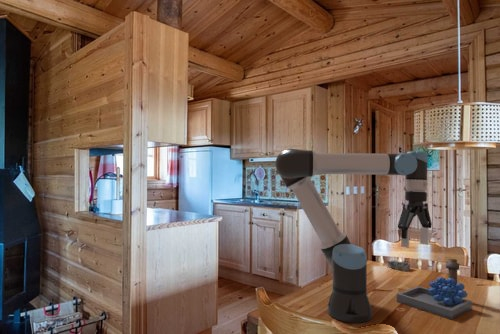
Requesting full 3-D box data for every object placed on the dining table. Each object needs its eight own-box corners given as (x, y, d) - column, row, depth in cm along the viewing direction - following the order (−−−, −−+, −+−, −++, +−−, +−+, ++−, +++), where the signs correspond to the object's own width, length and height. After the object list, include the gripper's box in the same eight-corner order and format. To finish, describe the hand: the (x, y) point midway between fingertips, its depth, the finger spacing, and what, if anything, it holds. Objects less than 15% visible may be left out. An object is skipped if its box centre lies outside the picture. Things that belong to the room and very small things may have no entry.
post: (457, 302, 128) (457, 262, 128) (441, 297, 133) (441, 259, 133) (464, 299, 131) (464, 260, 132) (448, 294, 136) (448, 257, 137)
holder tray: (451, 319, 112) (451, 310, 112) (396, 301, 128) (396, 293, 128) (471, 309, 121) (471, 300, 121) (418, 293, 138) (418, 286, 138)
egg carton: (385, 268, 176) (385, 260, 176) (391, 265, 181) (390, 258, 182) (406, 272, 169) (406, 264, 169) (411, 269, 174) (411, 261, 174)
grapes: (447, 317, 122) (473, 299, 122) (446, 310, 118) (473, 291, 118) (423, 291, 131) (448, 275, 132) (421, 284, 127) (447, 267, 127)
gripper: (407, 191, 118) (406, 250, 117) (441, 191, 132) (440, 244, 132) (388, 190, 124) (387, 246, 124) (423, 190, 138) (422, 241, 138)
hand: (414, 245), depth 128 cm, fingers open, 13 cm apart
